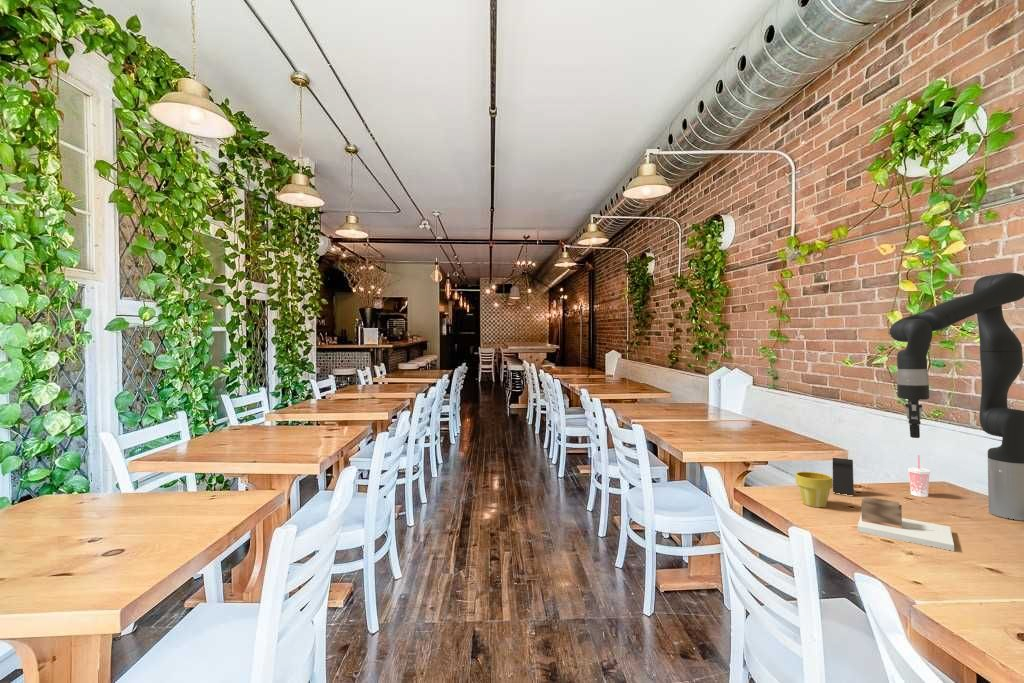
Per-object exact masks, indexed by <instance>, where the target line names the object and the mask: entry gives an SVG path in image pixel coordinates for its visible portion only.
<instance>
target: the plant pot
mask: <svg viewBox="0 0 1024 683" xmlns="http://www.w3.org/2000/svg"><path fill="white" fill-rule="evenodd" d="M795 484H797V486H798V491H799V493H800V497H801V501H802V504H803V503H804V504H803V505H805V506H807V505H808V506H807V507H811V506H812V507H813V508H818V507H823V508H826V507H827V504H828V499H829V495H830V492H831V489H833V476H831V475H828V474H826V473H825V474H824V473H820V472H815V471H798V472H796V473H795Z"/></svg>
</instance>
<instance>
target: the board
mask: <svg viewBox="0 0 1024 683" xmlns="http://www.w3.org/2000/svg"><path fill="white" fill-rule="evenodd" d="M857 532H858V533H861V534H867V535H872V536H875V537H876V536H877V537H881V538H885V539H887V538H888V539H890V540H891V539H893V540H896V541H901V542H905V541H906V542H907V543H910V542H911V544H915V543H916V545H920V544H922V545H921V546H925V545H927V546H926V547H930V546H933V547H932V548H935V547H937V548H936V549H940V548H941V549H940V550H944V549H946V550H945V551H949V550H951V551H950V552H955V544H954V539H953V534H952V529H951V526H948V525H943V524H938V523H932V522H927V521H921V520H916V519H909V518H904V517H902V529H900V528H895V527H890V526H884V525H879V524H874V523H869V522H863V521H862V512H860V517H859V520H858V524H857Z"/></svg>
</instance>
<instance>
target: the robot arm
mask: <svg viewBox="0 0 1024 683" xmlns="http://www.w3.org/2000/svg"><path fill="white" fill-rule="evenodd" d="M972 291H973V292H972V293H970V294H967V295H966V294H965V295H963V296H960V297H956V298H954V299H953V298H952V299H950V300H947V301H943V302H942V303H939V304H937V305H935V306H933V307H931V308H928V309H927V310H925V311H922V312H920V313H919V312H918V313H916V314H912V315H909V316H906V317H903V318H901V319H899V320H896V321H895V322H894V323H893V324H891V326H890V328H889V336H890V337H891V338H892V339H893V340H895V341H896V342H900V343H901V342H902V343H907V344H906V347H905V348H904V349H902V350H899V351H898V352H897V355H896V367H897V368H896V369H897V371H896V373H897V374H896V390H897V395H896V396H897V398H898V399H902V400H907V403H904V404H905V407H904V408H905V411H906V418H907V419H908V424H909V436H910V438H915V439H919V438H920V436H921V433H920V430H921V428H920V426H921V420H922V417H923V416H922V412H923V405H922V404H919V403H920V400H921V401H923V400H924V401H925V400H929V399H930V385H929V384H930V380H929V379H930V378H929V372H928V361H927V360H928V359H927V355H928V352H929V349H930V346H931V342H932V339H933V334H934V333H933V332H936V331H940V330H943V329H945V328H947V327H950V326H953V325H954V324H956V323H959V322H960V321H963V320H965V319H968V318H969V317H971V316H972V317H973V316H974V315H976V317H977V325H978V334H979V358H980V360H979V361H980V369H981V370H980V372H981V377H980V378H981V394H980V406H979V424H980V427H981V429H982V430H983V431H984V432H985V433H986V434H988V435H991V436H995V437H999V438H1002V440H1001V443H1000V446H997V447H991V448H989V449H987V487H988V488H987V493H988V495H987V496H988V497H987V498H988V504H987V505H988V513H989V514H992V515H993V516H996V517H998V518H999V517H1000V518H1003V519H1008V518H1009V520H1013V519H1014V521H1021V522H1022V521H1024V410H1022V409H1015V408H1009V406H1008V394H1009V390H1010V387H1011V386H1012V384H1014V381H1016V379H1017V378H1018V377H1019V375H1020V373H1021V372H1022V369H1023V366H1024V358H1023V357H1024V356H1023V346H1022V343H1021V341H1020V340H1019V338H1018V336H1017V335H1016V334H1015V333H1014V331H1013V330H1012V329H1011V328H1010V327H1009V325H1008V323H1007V322H1006V321H1005V318H1004V315H1003V305H1005V304H1009V303H1013V302H1017V301H1020V300H1022V299H1024V275H1023V274H1021V273H1018V272H1003V273H997V274H989V275H984V276H981V277H980V278H979V277H978V279H977V280H976V281H975V283H974V285H973V288H972Z"/></svg>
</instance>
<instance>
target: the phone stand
mask: <svg viewBox="0 0 1024 683" xmlns="http://www.w3.org/2000/svg"><path fill="white" fill-rule="evenodd" d="M832 480H833V485H832V493H833V492H835V493H840V494H847V495H854V496H855V494H854V493H855V490H854V487H855V486H854V461H853V459H851V458H849V459H848V458H839V457H832Z"/></svg>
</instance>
